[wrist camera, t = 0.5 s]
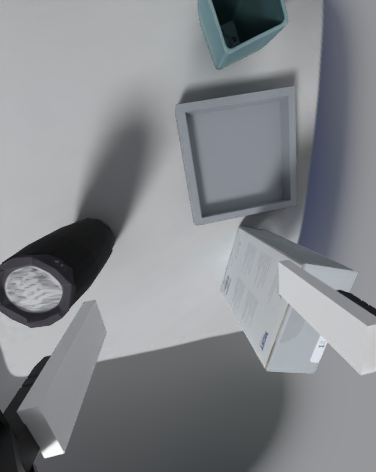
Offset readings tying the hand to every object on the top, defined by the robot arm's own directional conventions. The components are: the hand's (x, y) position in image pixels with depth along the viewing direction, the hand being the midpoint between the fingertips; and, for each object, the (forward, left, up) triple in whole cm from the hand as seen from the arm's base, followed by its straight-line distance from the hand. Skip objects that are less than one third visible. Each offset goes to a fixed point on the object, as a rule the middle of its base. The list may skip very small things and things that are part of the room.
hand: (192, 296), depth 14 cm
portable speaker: (0, -15, -26) cm, 30 cm away
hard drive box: (+12, +14, -26) cm, 32 cm away
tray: (-9, +14, -26) cm, 31 cm away
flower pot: (-27, +14, -26) cm, 40 cm away
